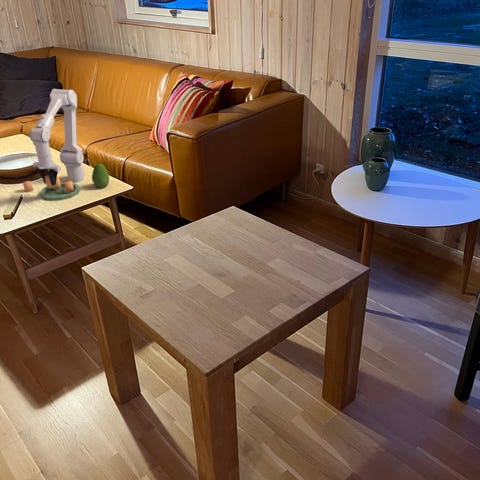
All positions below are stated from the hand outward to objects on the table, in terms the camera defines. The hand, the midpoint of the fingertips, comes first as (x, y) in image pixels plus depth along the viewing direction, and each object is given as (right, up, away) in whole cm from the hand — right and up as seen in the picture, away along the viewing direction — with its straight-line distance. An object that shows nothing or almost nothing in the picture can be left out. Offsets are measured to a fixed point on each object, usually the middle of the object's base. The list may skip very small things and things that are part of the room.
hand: (50, 183), depth 210 cm
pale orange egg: (0, -1, +1) cm, 1 cm away
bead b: (-1, -2, +10) cm, 10 cm away
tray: (+2, -4, +7) cm, 8 cm away
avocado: (+19, 0, +14) cm, 24 cm away
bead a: (+6, -3, +7) cm, 10 cm away
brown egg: (-14, -3, +9) cm, 17 cm away
